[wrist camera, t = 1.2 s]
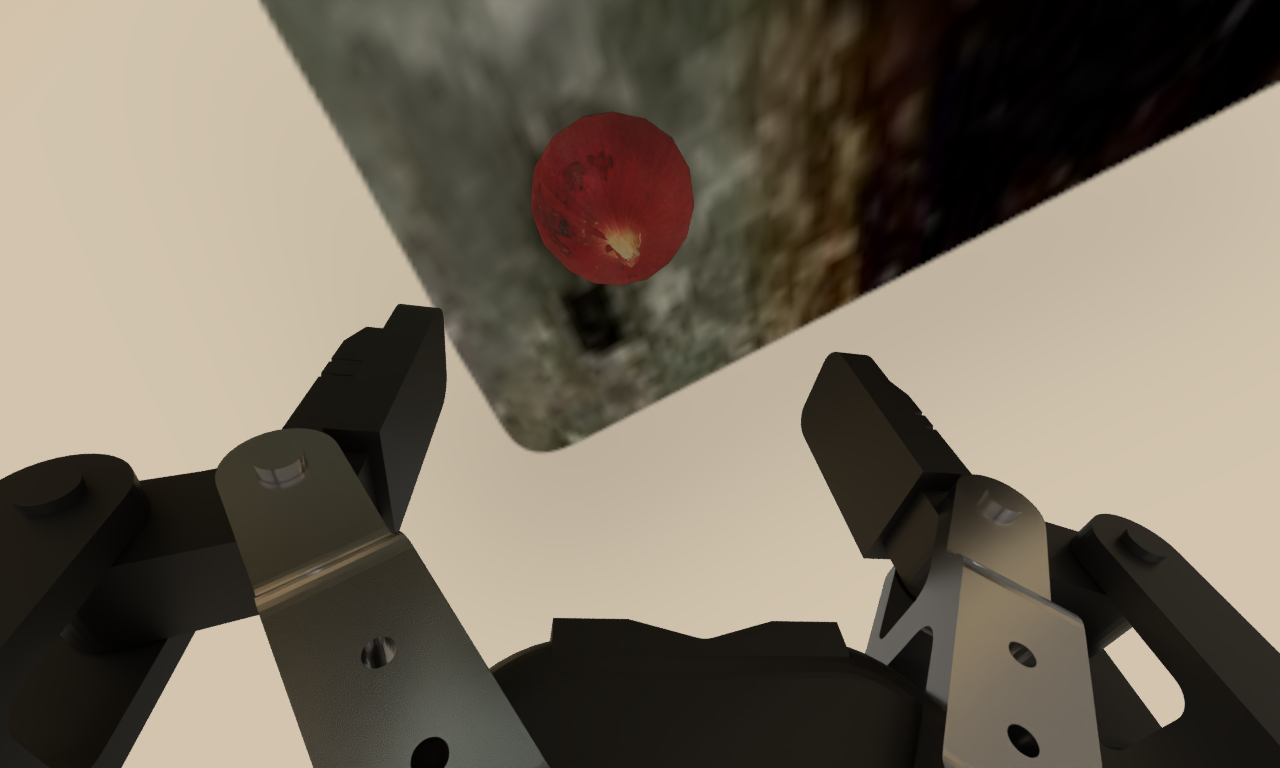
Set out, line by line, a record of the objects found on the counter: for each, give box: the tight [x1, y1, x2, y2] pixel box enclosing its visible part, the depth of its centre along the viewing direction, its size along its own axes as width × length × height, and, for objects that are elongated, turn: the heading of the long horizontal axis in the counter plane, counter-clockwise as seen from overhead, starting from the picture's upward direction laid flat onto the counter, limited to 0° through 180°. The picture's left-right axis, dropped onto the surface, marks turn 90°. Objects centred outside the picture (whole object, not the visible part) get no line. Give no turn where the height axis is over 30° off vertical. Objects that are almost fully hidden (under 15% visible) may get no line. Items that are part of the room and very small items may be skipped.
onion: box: [531, 112, 694, 285], centre depth 19 cm, size 6×6×8 cm
